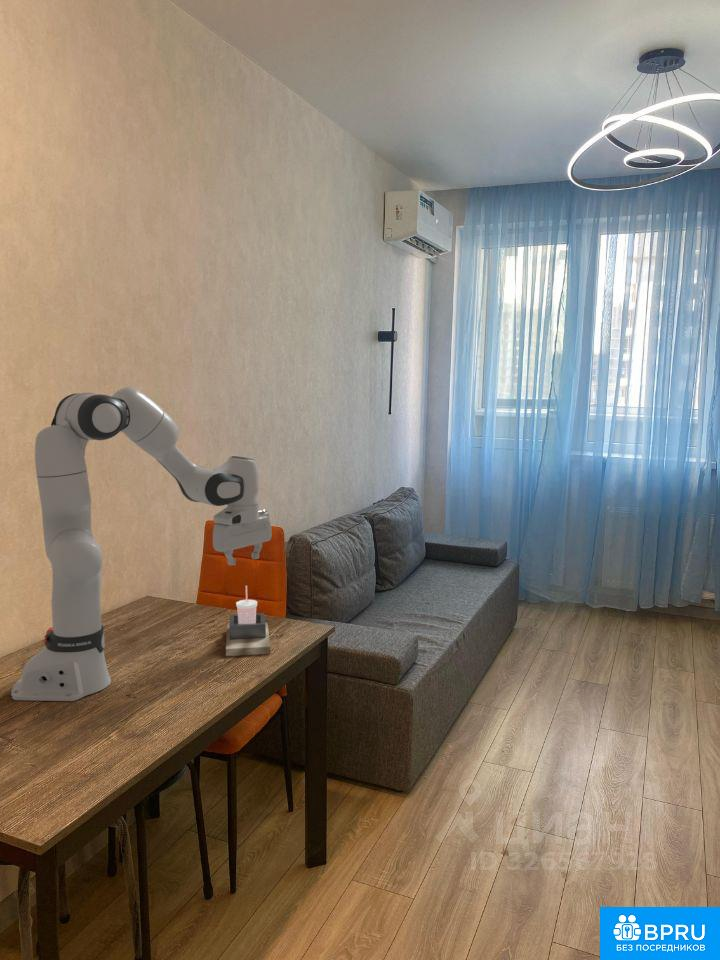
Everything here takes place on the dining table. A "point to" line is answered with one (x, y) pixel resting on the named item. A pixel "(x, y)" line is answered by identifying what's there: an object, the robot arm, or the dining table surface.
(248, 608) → the beverage cup
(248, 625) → the cup collar
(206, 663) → the dining table surface
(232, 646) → the socket board
